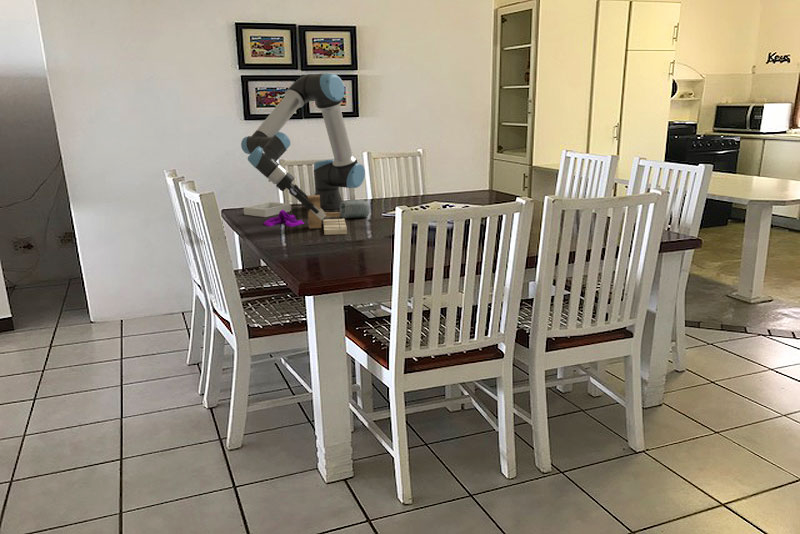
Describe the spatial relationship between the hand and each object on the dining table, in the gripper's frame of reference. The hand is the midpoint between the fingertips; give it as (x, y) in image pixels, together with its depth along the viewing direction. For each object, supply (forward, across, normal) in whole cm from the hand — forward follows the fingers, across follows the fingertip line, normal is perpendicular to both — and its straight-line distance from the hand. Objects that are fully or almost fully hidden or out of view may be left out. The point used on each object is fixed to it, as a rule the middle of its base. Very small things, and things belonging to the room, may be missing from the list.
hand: (323, 216), depth 263 cm
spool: (+13, -18, +7) cm, 23 cm away
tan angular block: (+3, 0, -3) cm, 4 cm away
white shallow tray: (-15, -39, -22) cm, 47 cm away
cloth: (-8, -15, -16) cm, 23 cm away
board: (+6, +5, 0) cm, 8 cm away
